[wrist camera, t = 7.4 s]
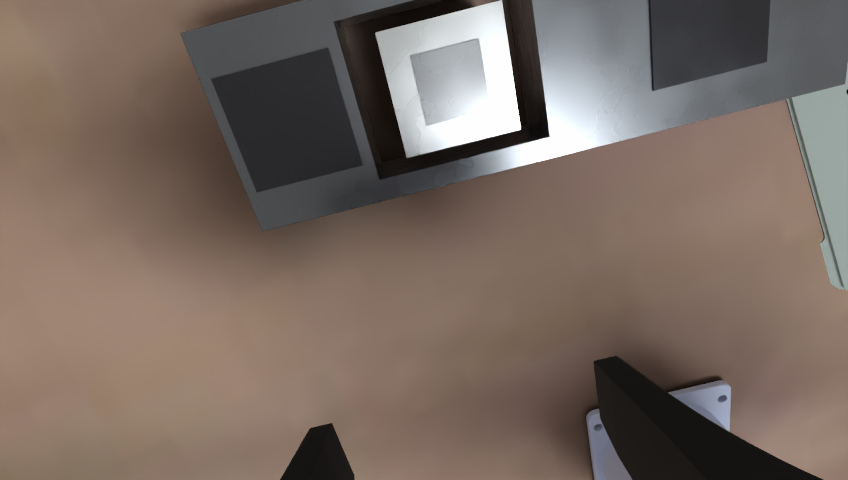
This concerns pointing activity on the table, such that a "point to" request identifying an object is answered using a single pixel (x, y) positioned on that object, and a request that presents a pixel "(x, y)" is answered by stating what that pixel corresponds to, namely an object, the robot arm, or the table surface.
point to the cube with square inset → (451, 78)
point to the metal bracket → (827, 168)
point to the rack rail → (540, 81)
